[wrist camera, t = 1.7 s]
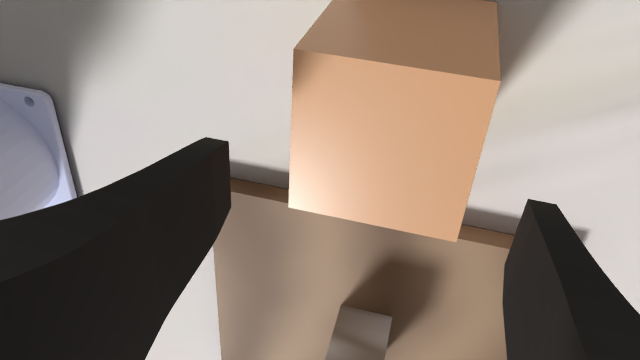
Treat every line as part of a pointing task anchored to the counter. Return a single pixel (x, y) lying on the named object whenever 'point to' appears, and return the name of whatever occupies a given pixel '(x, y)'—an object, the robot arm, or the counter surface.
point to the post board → (352, 287)
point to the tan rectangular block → (393, 111)
